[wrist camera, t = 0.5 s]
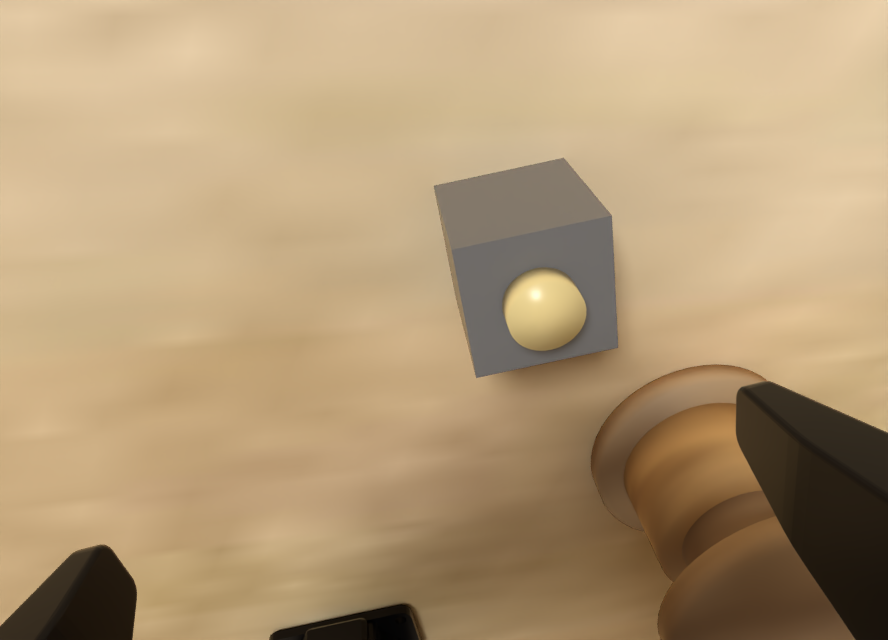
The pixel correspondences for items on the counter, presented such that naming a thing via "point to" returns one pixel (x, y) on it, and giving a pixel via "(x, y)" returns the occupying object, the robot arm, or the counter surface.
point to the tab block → (530, 266)
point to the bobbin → (706, 513)
